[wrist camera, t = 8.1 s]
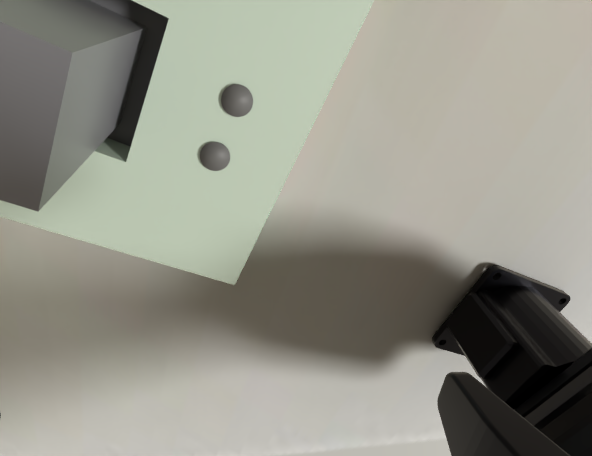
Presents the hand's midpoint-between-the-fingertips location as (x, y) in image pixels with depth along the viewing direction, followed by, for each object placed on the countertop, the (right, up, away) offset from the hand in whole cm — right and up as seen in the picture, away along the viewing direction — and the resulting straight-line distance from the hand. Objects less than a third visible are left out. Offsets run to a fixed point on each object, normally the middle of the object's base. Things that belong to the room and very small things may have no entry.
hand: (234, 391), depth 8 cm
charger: (-7, +10, +7) cm, 14 cm away
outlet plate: (-7, +10, +8) cm, 14 cm away
